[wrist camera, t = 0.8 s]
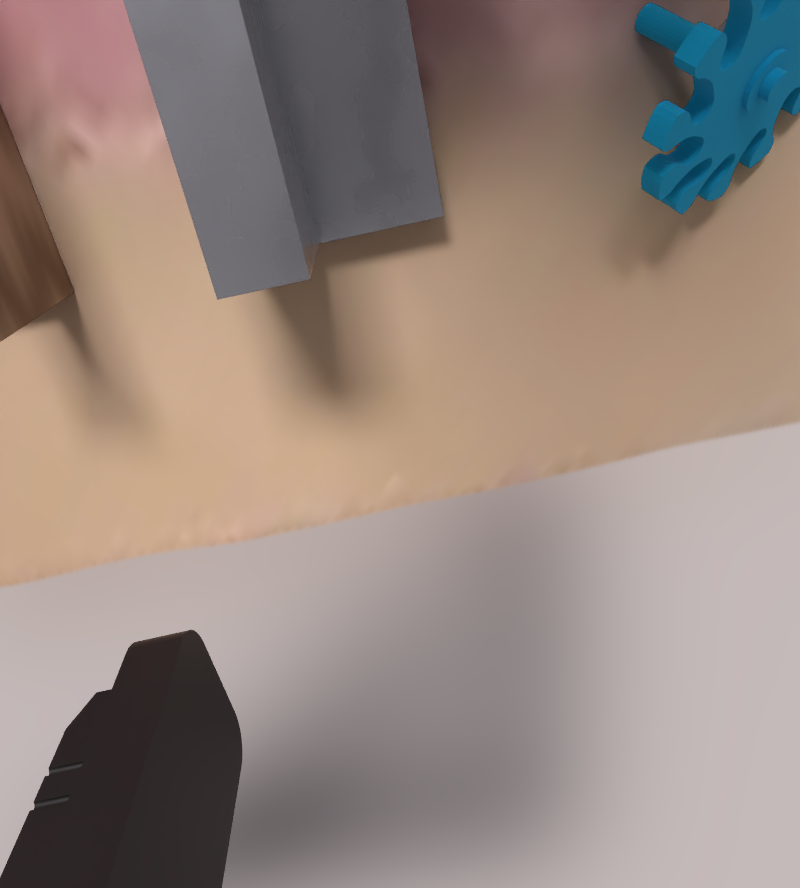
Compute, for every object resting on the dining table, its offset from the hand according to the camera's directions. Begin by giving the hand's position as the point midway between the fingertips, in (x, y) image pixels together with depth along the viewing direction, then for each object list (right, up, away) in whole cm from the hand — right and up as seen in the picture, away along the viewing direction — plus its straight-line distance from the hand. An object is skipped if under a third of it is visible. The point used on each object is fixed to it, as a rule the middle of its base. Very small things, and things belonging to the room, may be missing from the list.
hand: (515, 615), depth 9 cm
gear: (+11, +17, +19) cm, 28 cm away
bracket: (-5, +15, +19) cm, 25 cm away
